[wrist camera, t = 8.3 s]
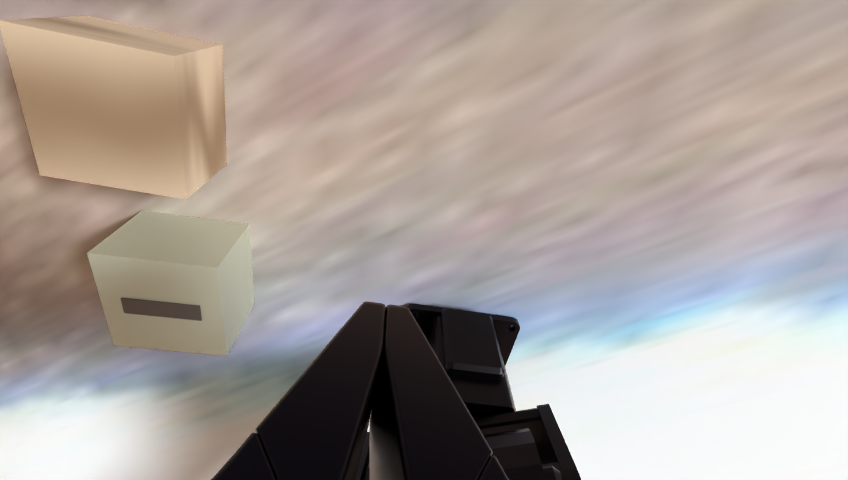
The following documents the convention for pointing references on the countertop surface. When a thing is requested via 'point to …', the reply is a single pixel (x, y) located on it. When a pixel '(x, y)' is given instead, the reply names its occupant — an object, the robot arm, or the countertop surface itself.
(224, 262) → the sage block one
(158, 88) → the birch block
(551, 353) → the countertop surface
